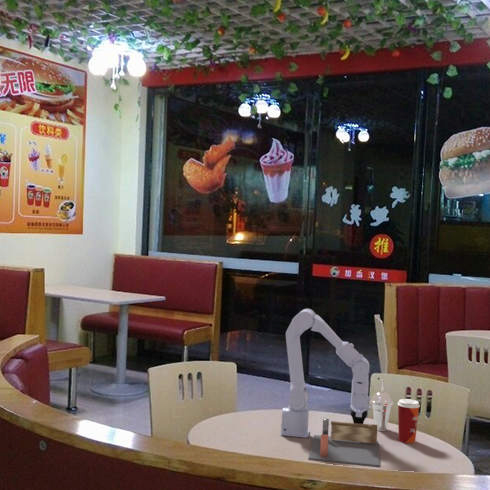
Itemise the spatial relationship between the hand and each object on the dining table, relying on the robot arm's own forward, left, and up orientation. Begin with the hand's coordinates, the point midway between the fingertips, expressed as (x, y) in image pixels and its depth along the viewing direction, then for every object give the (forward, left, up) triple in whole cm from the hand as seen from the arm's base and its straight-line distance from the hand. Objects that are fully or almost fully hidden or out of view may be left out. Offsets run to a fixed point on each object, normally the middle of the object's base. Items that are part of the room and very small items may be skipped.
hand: (357, 432), depth 232 cm
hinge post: (-11, -4, -3) cm, 12 cm away
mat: (-4, -12, -3) cm, 13 cm away
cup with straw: (+8, +16, -3) cm, 18 cm away
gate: (-1, -4, -2) cm, 5 cm away
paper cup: (+17, +5, -3) cm, 18 cm away
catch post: (-10, -20, -3) cm, 23 cm away
